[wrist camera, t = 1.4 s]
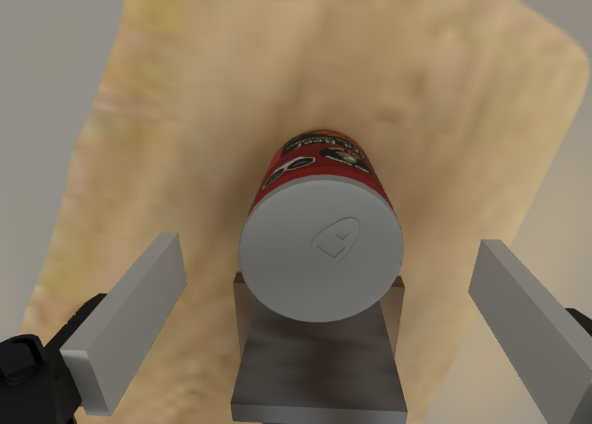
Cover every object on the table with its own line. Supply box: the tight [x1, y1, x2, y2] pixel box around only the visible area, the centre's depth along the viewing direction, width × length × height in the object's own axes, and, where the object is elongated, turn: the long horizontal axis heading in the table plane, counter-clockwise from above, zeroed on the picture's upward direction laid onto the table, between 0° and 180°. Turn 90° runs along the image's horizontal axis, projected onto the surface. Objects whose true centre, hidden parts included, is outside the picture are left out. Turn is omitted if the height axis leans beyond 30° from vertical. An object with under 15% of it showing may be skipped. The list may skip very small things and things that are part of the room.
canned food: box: [238, 131, 404, 322], centre depth 21 cm, size 8×8×11 cm
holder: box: [231, 273, 408, 424], centre depth 28 cm, size 14×17×12 cm
